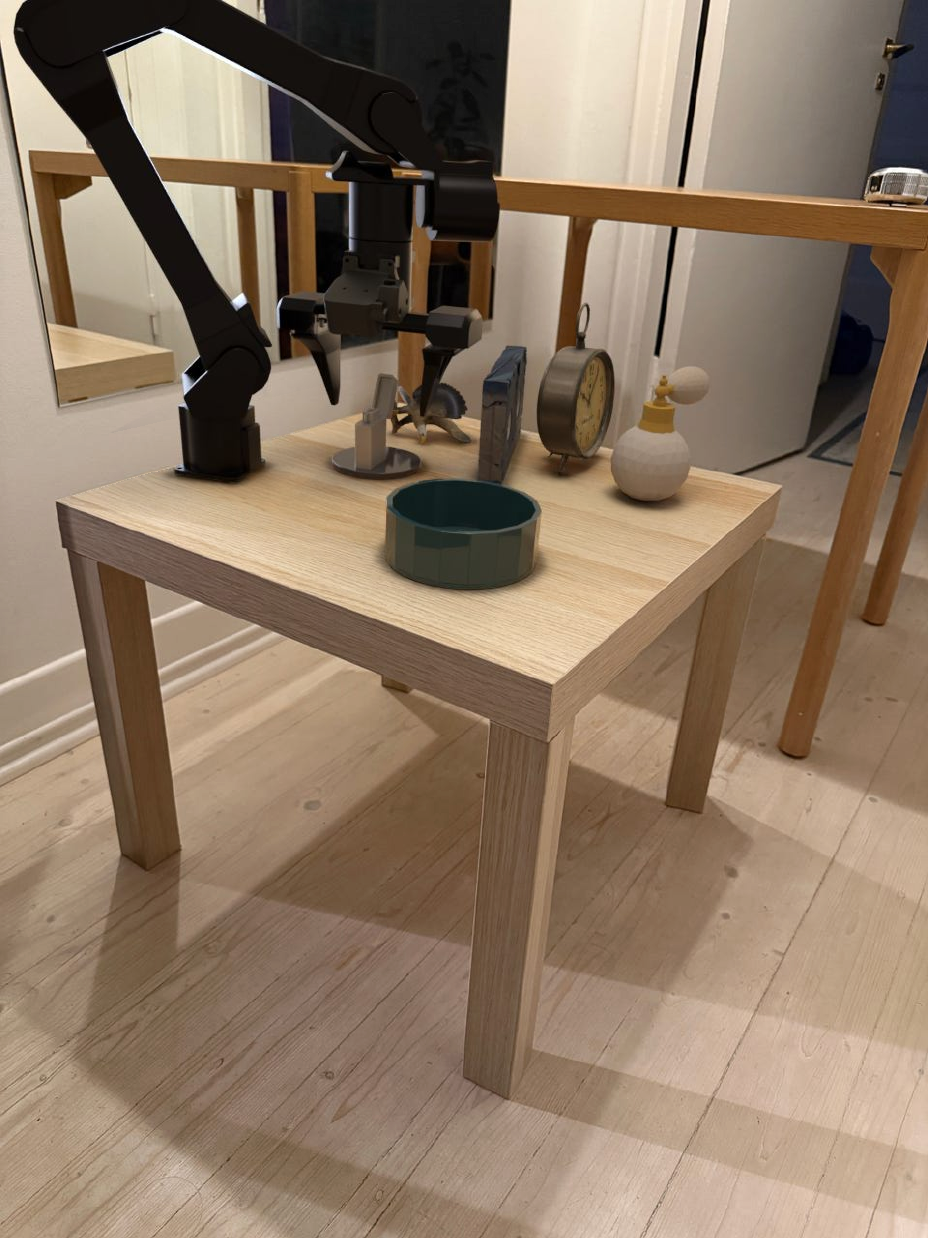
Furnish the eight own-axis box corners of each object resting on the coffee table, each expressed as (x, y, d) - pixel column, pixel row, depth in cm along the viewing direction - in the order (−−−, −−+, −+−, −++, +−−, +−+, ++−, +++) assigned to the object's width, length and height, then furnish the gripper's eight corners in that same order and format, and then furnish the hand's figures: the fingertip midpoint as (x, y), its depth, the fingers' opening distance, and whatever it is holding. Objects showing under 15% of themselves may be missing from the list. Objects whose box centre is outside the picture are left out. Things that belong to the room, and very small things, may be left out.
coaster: (317, 471, 89) (317, 465, 89) (351, 446, 97) (351, 441, 96) (404, 484, 87) (405, 478, 87) (432, 457, 95) (432, 452, 94)
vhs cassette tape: (499, 432, 105) (506, 343, 100) (524, 435, 104) (532, 346, 100) (471, 482, 89) (477, 379, 84) (501, 486, 88) (509, 382, 84)
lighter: (370, 470, 88) (371, 387, 85) (353, 467, 89) (354, 385, 85) (397, 450, 94) (398, 372, 91) (381, 448, 95) (382, 370, 91)
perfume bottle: (596, 500, 86) (613, 372, 81) (623, 472, 94) (640, 354, 88) (674, 516, 84) (698, 385, 78) (695, 486, 92) (718, 366, 86)
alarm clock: (569, 482, 90) (589, 312, 83) (521, 471, 93) (536, 304, 85) (609, 455, 99) (630, 300, 92) (564, 446, 101) (581, 293, 94)
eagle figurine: (384, 438, 96) (468, 428, 95) (379, 373, 97) (463, 362, 96) (397, 457, 103) (475, 449, 103) (392, 397, 104) (470, 388, 103)
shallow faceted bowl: (362, 574, 68) (362, 518, 66) (412, 519, 79) (414, 470, 77) (517, 601, 66) (523, 544, 64) (547, 540, 77) (553, 490, 74)
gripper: (244, 236, 77) (253, 418, 84) (456, 255, 73) (447, 444, 80) (299, 228, 87) (303, 392, 94) (489, 244, 83) (478, 414, 90)
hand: (378, 410), depth 89 cm, fingers open, 9 cm apart
